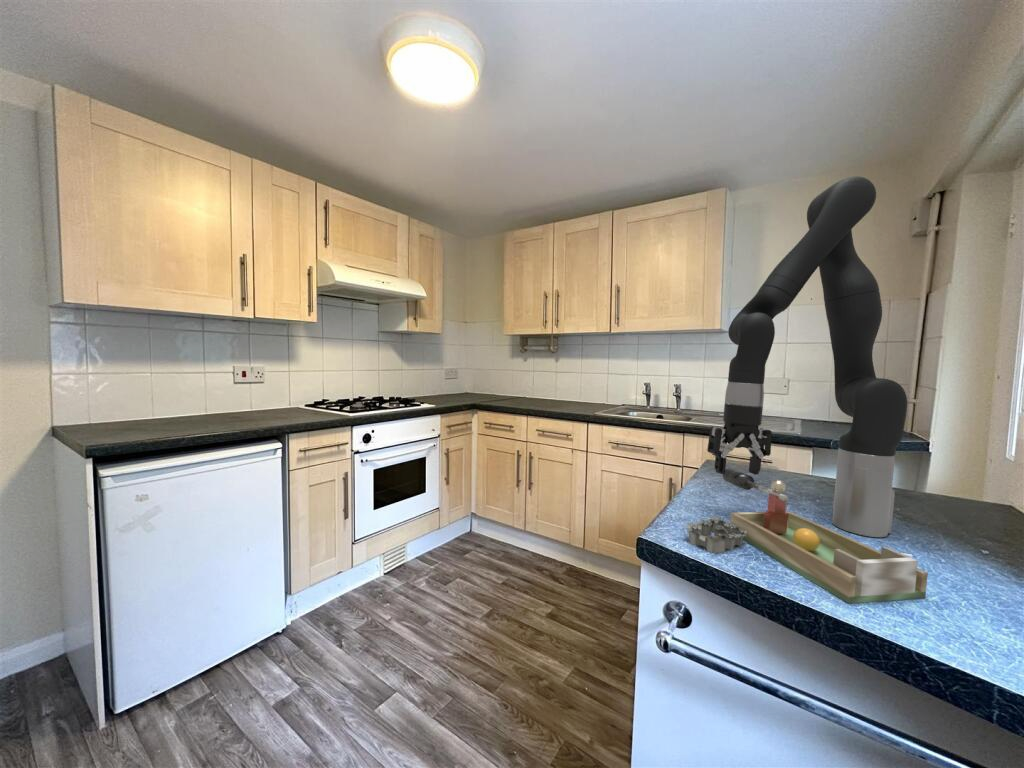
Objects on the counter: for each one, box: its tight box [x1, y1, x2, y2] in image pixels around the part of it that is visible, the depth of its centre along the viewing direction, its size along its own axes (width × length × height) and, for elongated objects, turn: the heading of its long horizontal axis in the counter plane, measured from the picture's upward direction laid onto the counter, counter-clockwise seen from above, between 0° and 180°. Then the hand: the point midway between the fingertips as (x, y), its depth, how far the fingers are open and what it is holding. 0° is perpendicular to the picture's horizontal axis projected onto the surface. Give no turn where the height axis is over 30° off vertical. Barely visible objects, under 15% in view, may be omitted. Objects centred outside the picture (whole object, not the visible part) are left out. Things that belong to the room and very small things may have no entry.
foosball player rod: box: [722, 468, 790, 534], centre depth 86 cm, size 4×16×11 cm, turn 9°
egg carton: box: [685, 515, 747, 555], centre depth 78 cm, size 11×8×4 cm
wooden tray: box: [729, 510, 929, 604], centre depth 72 cm, size 14×25×6 cm, turn 9°
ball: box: [793, 528, 820, 551], centre depth 73 cm, size 4×4×4 cm
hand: (736, 473), depth 91 cm, fingers open, 8 cm apart
